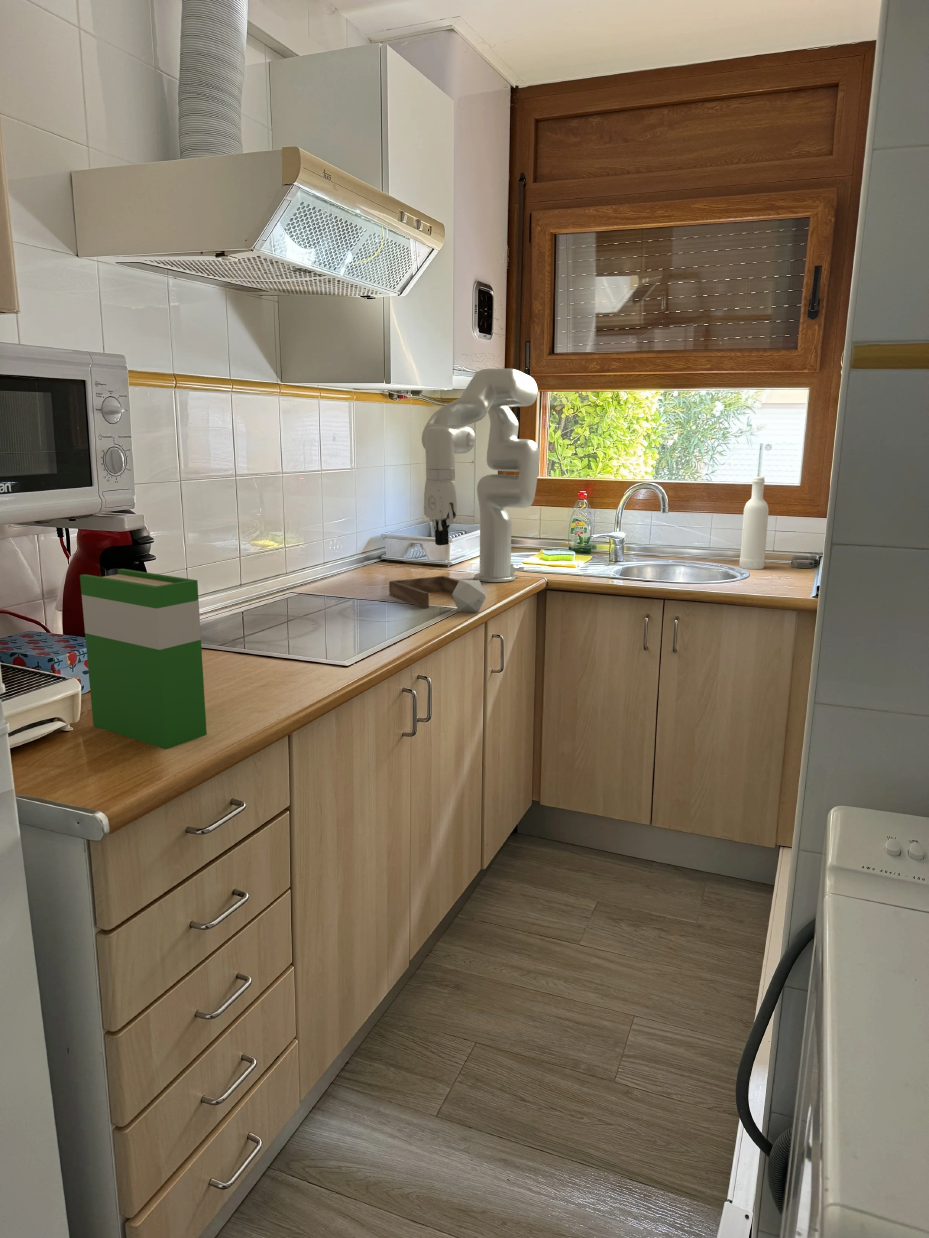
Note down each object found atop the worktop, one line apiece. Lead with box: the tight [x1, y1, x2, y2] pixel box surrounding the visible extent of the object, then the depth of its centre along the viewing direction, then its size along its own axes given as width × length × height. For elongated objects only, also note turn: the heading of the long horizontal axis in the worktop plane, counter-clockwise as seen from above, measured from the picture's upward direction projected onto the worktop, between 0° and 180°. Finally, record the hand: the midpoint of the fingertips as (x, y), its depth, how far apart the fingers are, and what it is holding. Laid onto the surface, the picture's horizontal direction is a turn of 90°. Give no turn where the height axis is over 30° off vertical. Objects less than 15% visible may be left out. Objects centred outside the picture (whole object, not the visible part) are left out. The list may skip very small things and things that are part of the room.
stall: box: [388, 575, 460, 609], centre depth 238 cm, size 17×20×4 cm
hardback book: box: [79, 568, 208, 750], centre depth 133 cm, size 18×7×24 cm, turn 56°
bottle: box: [739, 476, 769, 570], centre depth 290 cm, size 8×8×30 cm
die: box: [451, 579, 486, 613], centre depth 223 cm, size 8×9×10 cm
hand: (442, 544), depth 234 cm, fingers closed
